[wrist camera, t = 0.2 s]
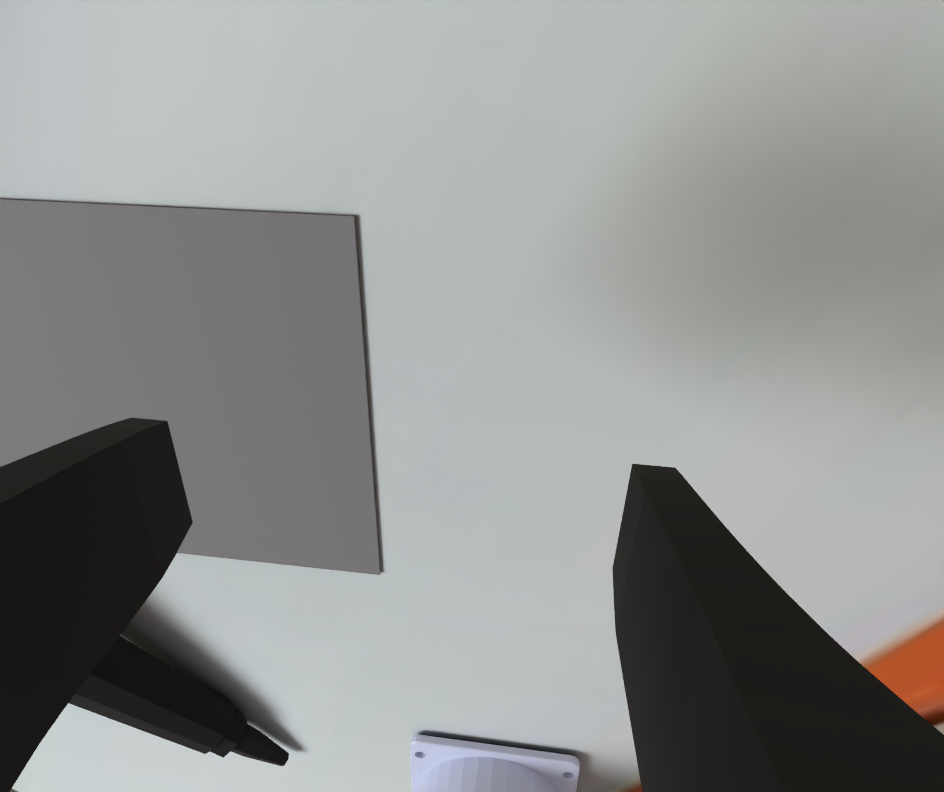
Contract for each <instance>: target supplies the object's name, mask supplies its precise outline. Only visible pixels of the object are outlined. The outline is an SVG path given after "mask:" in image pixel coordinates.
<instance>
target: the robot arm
mask: <svg viewBox="0 0 944 792" xmlns="http://www.w3.org/2000/svg"><path fill="white" fill-rule="evenodd" d="M192 523H193V521H192V517H191V513H190V509H189V505H188V501H187V497H186V493H185V489H184V485H183V481H182V477H181V473H180V469H179V465H178V461H177V457H176V453H175V449H174V445H173V441H172V437H171V433H170V429H169V425H168V421H164V420H153V419H142V418H128V419H125V420H121V421H118V422H115V423H112V424H109V425H106V426H103V427H100V428H97V429H94V430H92V431H89V432H86V433H84V434H81V435H79V436H76V437H73V438H71V439H68V440H66V441H63V442H61V443H58V444H56V445H53V446H51V447H48V448H46V449H43V450H41V451H38V452H36V453H33V454H31V455H28V456H26V457H24V458H21V459H19V460H16V461H14V462H11V463H9V464H6V465H4V466H1V467H0V792H9V791H10V790H11V788H12V787H13V785H14V783H15V782H16V780H17V779H18V777H19V775H20V774H21V772H22V771H23V769H24V767H25V766H26V764H27V763H28V761H29V759H30V758H31V756H32V755H33V753H34V751H35V750H36V748H37V747H38V745H39V743H40V742H41V740H42V739H43V738H44V736H45V735H46V733H47V732H48V730H49V729H50V728H51V726H52V725H53V723H54V722H55V721H56V719H57V718H58V716H59V715H60V713H61V712H62V711H63V709H64V708H65V707H66V705H67V704H68V703H69V701H70V700H71V699H72V697H73V696H74V695H75V693H76V692H77V691H78V689H79V688H80V687H81V685H82V684H83V683H84V681H85V680H86V679H87V678H88V676H89V675H90V674H91V672H92V671H93V670H94V668H95V667H96V666H97V664H98V663H99V662H100V660H101V659H102V658H103V656H104V655H105V654H106V652H107V651H108V650H109V649H110V647H111V646H112V645H113V643H114V642H115V641H116V639H117V638H118V637H119V635H120V634H121V633H122V631H123V630H124V629H125V627H126V626H127V625H128V624H129V622H130V621H131V620H132V618H133V617H134V615H135V614H136V613H137V611H138V610H139V609H140V607H141V606H142V605H143V603H144V602H145V601H146V599H147V598H148V597H149V595H150V594H151V593H152V591H153V590H154V588H155V587H156V586H157V584H158V583H159V581H160V580H161V579H162V577H163V575H164V574H165V572H166V570H167V569H168V567H169V565H170V564H171V562H172V560H173V558H174V557H175V555H176V553H177V551H178V550H179V548H180V546H181V544H182V542H183V540H184V538H185V536H186V535H187V533H188V531H189V529H190V527H191V525H192ZM613 588H614V609H615V627H616V637H617V643H618V649H619V655H620V661H621V667H622V674H623V680H624V686H625V692H626V697H627V703H628V709H629V715H630V721H631V727H632V733H633V739H634V745H635V751H636V756H637V762H638V768H639V774H640V780H641V786H642V792H944V735H943V734H942V733H941V732H939V731H938V730H937V729H936V728H935V727H933V726H932V725H931V724H930V723H928V722H927V721H926V720H925V719H924V718H922V717H921V716H920V715H919V714H918V713H916V712H915V711H914V710H913V709H912V708H911V707H909V706H908V705H907V704H906V703H905V702H904V701H903V700H901V699H900V698H899V697H898V696H897V695H896V694H894V693H893V692H892V691H891V690H890V689H889V688H888V687H886V686H885V685H884V684H883V683H882V682H881V681H879V680H878V679H877V678H876V677H875V676H874V675H873V674H871V673H870V672H869V671H868V670H867V669H866V668H864V667H863V666H862V665H861V664H860V663H859V662H858V661H856V660H855V659H854V658H853V657H852V656H851V655H850V654H849V653H848V652H847V651H846V650H845V649H843V648H842V647H841V646H840V645H839V644H838V643H837V642H836V641H835V640H834V639H833V638H832V637H831V636H829V635H828V634H827V633H826V632H825V631H824V630H823V629H822V628H821V627H820V626H819V625H818V624H817V623H816V622H815V621H814V620H813V619H812V618H811V617H810V616H809V615H808V614H807V613H806V612H805V611H804V610H803V609H802V608H801V607H800V606H799V605H798V604H797V603H796V602H795V601H794V600H793V599H792V598H791V597H790V596H789V595H788V594H787V593H786V592H785V591H784V590H783V589H782V588H781V587H780V586H779V585H778V584H777V583H776V582H775V581H774V580H773V579H772V578H771V577H770V575H769V574H768V573H767V572H766V571H765V570H764V569H763V568H762V567H761V566H760V565H759V564H758V563H757V562H756V560H755V559H754V558H753V557H752V556H751V555H750V554H749V553H748V552H747V551H746V549H745V548H744V547H743V546H742V545H741V544H740V543H739V542H738V541H737V539H736V538H735V537H734V536H733V535H732V534H731V533H730V531H729V530H728V529H727V528H726V527H725V526H724V525H723V523H722V522H721V521H720V520H719V519H718V518H717V516H716V515H715V514H714V513H713V512H712V511H711V509H710V508H709V507H708V506H707V505H706V503H705V502H704V501H703V500H702V499H701V497H700V496H699V495H698V494H697V493H696V492H695V490H694V489H693V488H692V487H691V486H690V484H689V483H688V482H687V481H686V480H685V478H684V477H683V476H682V475H681V474H680V473H679V471H678V470H677V469H676V468H672V467H661V466H650V465H639V464H632V469H631V474H630V479H629V485H628V490H627V495H626V500H625V506H624V511H623V516H622V522H621V527H620V532H619V538H618V543H617V548H616V554H615V559H614V564H613ZM410 758H411V779H412V792H576V788H577V783H578V778H579V772H580V762H579V760H578V758H576V757H575V756H572V755H566V754H559V753H552V752H544V751H537V750H529V749H522V748H515V747H507V746H500V745H492V744H485V743H478V742H470V741H463V740H455V739H448V738H441V737H433V736H426V735H416V736H414V737H412V739H411V744H410Z"/></svg>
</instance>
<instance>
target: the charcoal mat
mask: <svg viewBox="0 0 944 792" xmlns="http://www.w3.org/2000/svg"><path fill="white" fill-rule="evenodd" d="M128 418H142V419H153V420H164V421H168V425H169V429H170V433H171V437H172V441H173V445H174V449H175V453H176V457H177V461H178V465H179V469H180V473H181V477H182V481H183V485H184V489H185V493H186V497H187V501H188V505H189V509H190V513H191V517H192V521H193V523H192V525H191V527H190V529H189V531H188V533H187V535H186V536H185V538H184V540H183V542H182V544H181V546H180V548H179V550H178V551H177V553H184V554H193V555H202V556H211V557H220V558H230V559H239V560H248V561H257V562H266V563H276V564H285V565H294V566H303V567H312V568H321V569H331V570H340V571H349V572H358V573H367V574H377V575H380V573H381V572H380V558H379V544H378V530H377V516H376V502H375V488H374V474H373V460H372V447H371V433H370V419H369V405H368V391H367V377H366V363H365V349H364V336H363V322H362V308H361V294H360V280H359V266H358V252H357V238H356V225H355V216H349V215H329V214H308V213H287V212H266V211H246V210H225V209H204V208H183V207H162V206H142V205H121V204H100V203H79V202H59V201H38V200H17V199H0V467H1V466H4V465H6V464H9V463H11V462H14V461H16V460H19V459H21V458H24V457H26V456H28V455H31V454H33V453H36V452H38V451H41V450H43V449H46V448H48V447H51V446H53V445H56V444H58V443H61V442H63V441H66V440H68V439H71V438H73V437H76V436H79V435H81V434H84V433H86V432H89V431H92V430H94V429H97V428H100V427H103V426H106V425H109V424H112V423H115V422H118V421H121V420H125V419H128Z"/></svg>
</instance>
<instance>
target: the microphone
mask: <svg viewBox="0 0 944 792" xmlns="http://www.w3.org/2000/svg"><path fill="white" fill-rule="evenodd" d="M69 703H70V704H73V705H75V706H78V707H81V708H83V709H86V710H89V711H91V712H94V713H97V714H99V715H102V716H105V717H107V718H110V719H113V720H116V721H118V722H121V723H124V724H126V725H129V726H132V727H134V728H137V729H140V730H142V731H145V732H148V733H150V734H153V735H156V736H159V737H161V738H164V739H167V740H169V741H172V742H175V743H177V744H180V745H183V746H185V747H188V748H191V749H194V750H196V751H199V752H202V753H204V754H206V753H208V752H209V751H211V752H213V753H215V754H217V755H219V756H221V757H224V756H226V755H227V754H228V753H229V752H230V751H231V752H234V753H237V754H239V755H242V756H245V757H248V758H252V759H256V760H260V761H264V762H268V763H272V764H276V765H279V766H284V765H285V763H286V762H287V760H288V756H289V753H287V752H286V751H285V750H284V749H282V748H281V747H280V746H278V745H277V744H276V743H274V742H273V741H272V740H271V739H269V738H268V737H267V736H265V735H264V734H263V733H261V732H260V731H258V730H257V729H255V728H253V727H252V726H250V725H248V724H247V721H246V718H245V716H244V714H243V713H242V712H240V711H238V710H236V709H235V707H234V706H233V704H232V703H231V702H229V701H228V700H226V699H224V698H223V697H221V696H219V695H218V694H216V693H214V692H213V691H211V690H209V689H208V688H206V687H204V686H203V685H201V684H199V683H198V682H196V681H194V680H193V679H191V678H189V677H188V676H186V675H184V674H183V673H181V672H179V671H178V670H176V669H174V668H173V667H171V666H169V665H168V664H166V663H164V662H163V661H161V660H159V659H158V658H156V657H154V656H153V655H151V654H149V653H148V652H146V651H144V650H143V649H141V648H139V647H138V646H136V645H134V644H133V643H131V642H129V641H128V640H126V639H124V638H123V637H121V636H119V637H118V638H117V639H116V641H115V642H114V643H113V645H112V646H111V647H110V649H109V650H108V651H107V652H106V654H105V655H104V656H103V658H102V659H101V660H100V662H99V663H98V664H97V666H96V667H95V668H94V670H93V671H92V672H91V674H90V675H89V676H88V678H87V679H86V680H85V681H84V683H83V684H82V685H81V687H80V688H79V689H78V691H77V692H76V693H75V695H74V696H73V697H72V699H71V700H70V701H69Z"/></svg>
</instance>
